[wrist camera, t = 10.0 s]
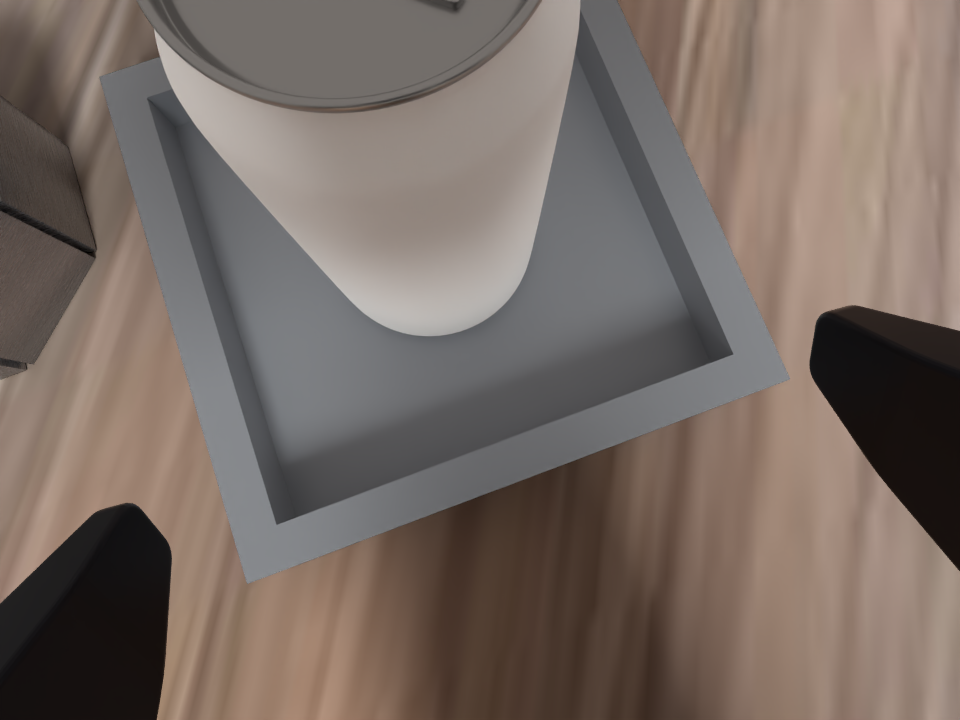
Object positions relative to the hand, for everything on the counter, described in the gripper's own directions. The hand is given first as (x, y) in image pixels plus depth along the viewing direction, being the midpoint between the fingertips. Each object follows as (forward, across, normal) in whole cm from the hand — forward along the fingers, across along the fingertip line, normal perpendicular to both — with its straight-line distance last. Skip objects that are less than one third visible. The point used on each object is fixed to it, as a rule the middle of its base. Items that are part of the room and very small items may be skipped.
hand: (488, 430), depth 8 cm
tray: (+13, 0, +3) cm, 13 cm away
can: (+12, 0, +3) cm, 13 cm away
